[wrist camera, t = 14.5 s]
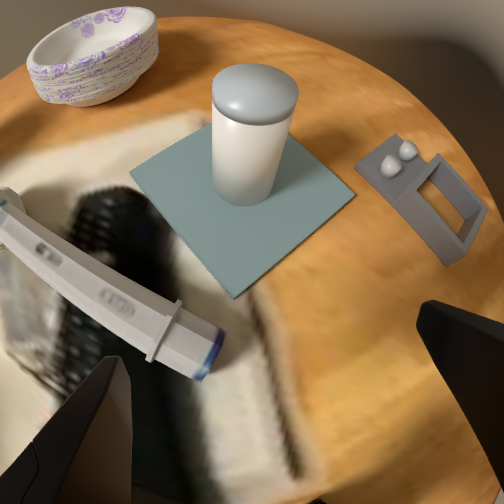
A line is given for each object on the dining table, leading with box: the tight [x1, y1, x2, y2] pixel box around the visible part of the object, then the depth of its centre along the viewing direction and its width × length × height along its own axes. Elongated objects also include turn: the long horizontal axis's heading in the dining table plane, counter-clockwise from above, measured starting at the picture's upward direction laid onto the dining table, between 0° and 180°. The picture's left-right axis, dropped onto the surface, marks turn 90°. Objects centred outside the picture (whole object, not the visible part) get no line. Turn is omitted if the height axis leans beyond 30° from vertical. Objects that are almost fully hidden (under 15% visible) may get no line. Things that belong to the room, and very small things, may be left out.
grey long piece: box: [0, 187, 227, 383], centre depth 19 cm, size 5×7×25 cm
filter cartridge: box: [212, 63, 299, 206], centre depth 20 cm, size 5×5×10 cm
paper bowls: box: [27, 7, 159, 107], centre depth 26 cm, size 15×15×8 cm
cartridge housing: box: [354, 133, 488, 267], centre depth 26 cm, size 13×8×3 cm, turn 42°
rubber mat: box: [130, 123, 355, 300], centre depth 25 cm, size 14×14×1 cm
